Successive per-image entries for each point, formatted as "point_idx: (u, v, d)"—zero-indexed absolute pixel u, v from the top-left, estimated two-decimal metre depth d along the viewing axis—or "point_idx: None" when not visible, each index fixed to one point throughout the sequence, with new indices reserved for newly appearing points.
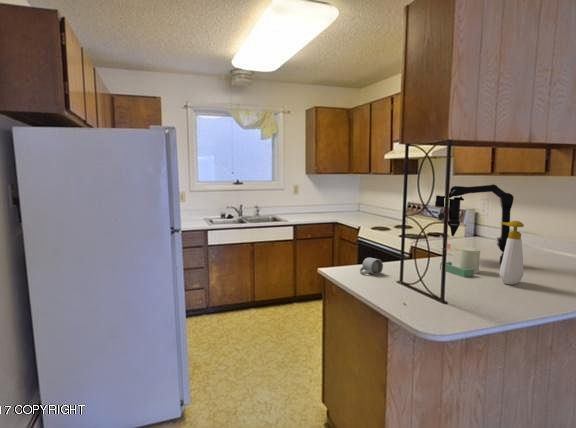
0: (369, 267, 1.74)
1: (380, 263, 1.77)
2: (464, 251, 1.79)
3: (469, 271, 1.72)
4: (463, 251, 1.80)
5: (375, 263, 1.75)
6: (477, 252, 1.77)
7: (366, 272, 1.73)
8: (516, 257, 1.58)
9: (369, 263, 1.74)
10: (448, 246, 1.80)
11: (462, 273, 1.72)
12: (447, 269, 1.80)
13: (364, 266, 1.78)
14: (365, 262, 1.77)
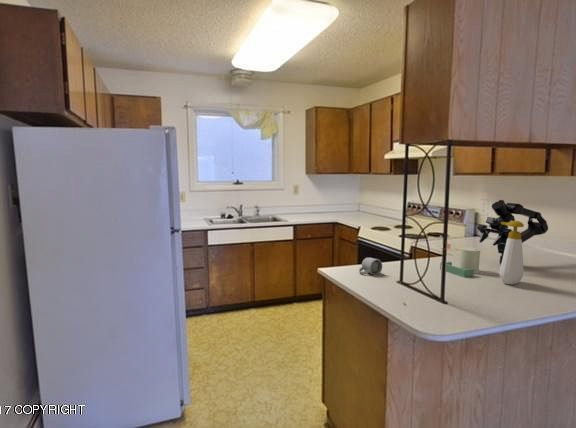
0: (368, 267, 1.73)
1: (379, 263, 1.77)
2: (464, 251, 1.79)
3: (469, 271, 1.72)
4: (463, 251, 1.80)
5: (374, 263, 1.75)
6: (477, 252, 1.77)
7: (365, 272, 1.73)
8: (516, 257, 1.58)
9: (368, 263, 1.74)
10: (448, 246, 1.80)
11: (462, 273, 1.72)
12: (447, 269, 1.80)
13: (363, 266, 1.77)
14: (364, 262, 1.77)
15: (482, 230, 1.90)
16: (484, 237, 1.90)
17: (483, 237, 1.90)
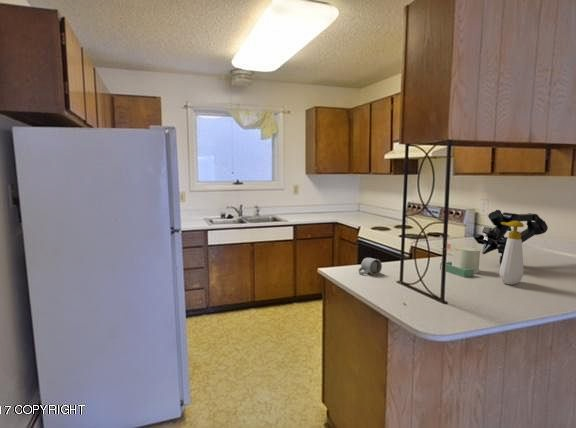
0: (368, 267, 1.73)
1: (379, 263, 1.76)
2: (464, 251, 1.79)
3: (469, 271, 1.72)
4: (463, 251, 1.80)
5: (374, 263, 1.75)
6: (477, 252, 1.77)
7: (365, 272, 1.73)
8: (516, 257, 1.58)
9: (368, 263, 1.74)
10: (448, 246, 1.80)
11: (462, 273, 1.72)
12: (447, 269, 1.80)
13: (363, 266, 1.77)
14: (364, 262, 1.77)
15: (485, 241, 1.87)
16: None
17: None
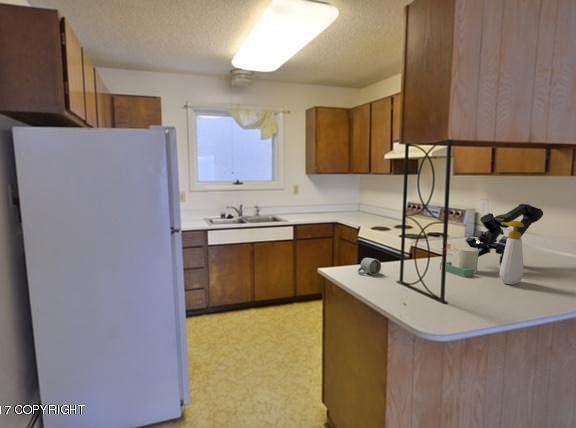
0: (367, 267, 1.73)
1: (378, 263, 1.76)
2: (463, 251, 1.79)
3: (469, 271, 1.72)
4: (462, 251, 1.80)
5: (373, 263, 1.75)
6: (476, 252, 1.77)
7: (364, 272, 1.73)
8: (516, 257, 1.58)
9: (367, 263, 1.74)
10: (448, 246, 1.80)
11: (462, 273, 1.72)
12: (447, 269, 1.80)
13: (362, 266, 1.77)
14: (363, 262, 1.77)
15: (477, 245, 1.85)
16: None
17: None
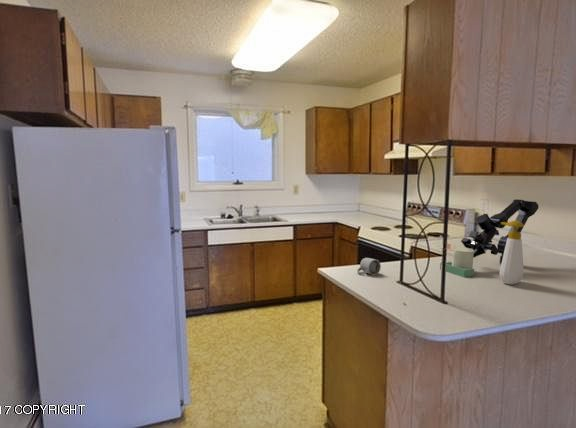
0: (367, 267, 1.73)
1: (378, 263, 1.76)
2: (458, 252, 1.78)
3: (469, 271, 1.72)
4: (457, 252, 1.78)
5: (373, 263, 1.75)
6: (471, 253, 1.76)
7: (364, 272, 1.73)
8: (516, 257, 1.58)
9: (367, 263, 1.74)
10: (448, 246, 1.80)
11: (462, 273, 1.72)
12: (447, 269, 1.80)
13: (362, 266, 1.77)
14: (363, 262, 1.77)
15: (472, 245, 1.83)
16: None
17: None
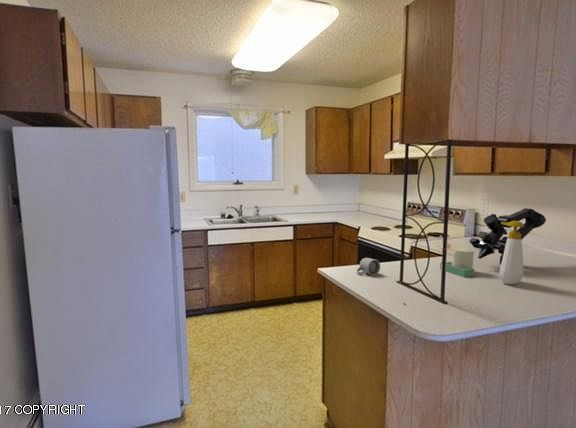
0: (366, 267, 1.73)
1: (377, 263, 1.76)
2: (458, 252, 1.78)
3: (469, 271, 1.72)
4: (457, 252, 1.78)
5: (372, 263, 1.74)
6: (471, 253, 1.76)
7: (363, 272, 1.73)
8: (516, 257, 1.58)
9: (366, 263, 1.74)
10: (448, 246, 1.80)
11: (462, 273, 1.72)
12: (447, 269, 1.80)
13: (361, 266, 1.77)
14: (362, 262, 1.77)
15: (481, 245, 1.86)
16: None
17: None
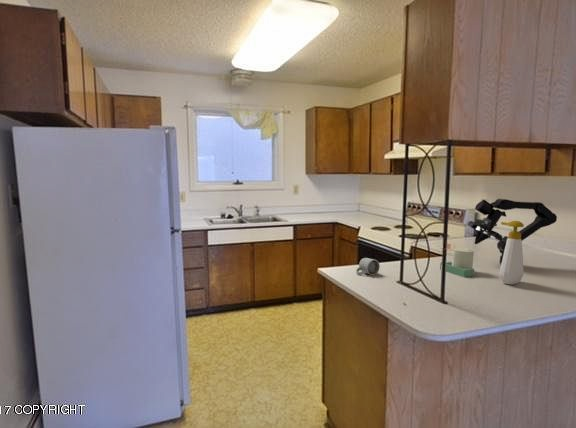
0: (365, 267, 1.73)
1: (377, 263, 1.76)
2: (458, 252, 1.78)
3: (469, 271, 1.72)
4: (457, 252, 1.78)
5: (372, 263, 1.74)
6: (471, 253, 1.76)
7: (362, 272, 1.73)
8: (516, 257, 1.58)
9: (366, 263, 1.73)
10: (448, 246, 1.80)
11: (462, 273, 1.72)
12: (447, 269, 1.80)
13: (361, 266, 1.77)
14: (362, 262, 1.76)
15: (477, 231, 1.92)
16: None
17: None
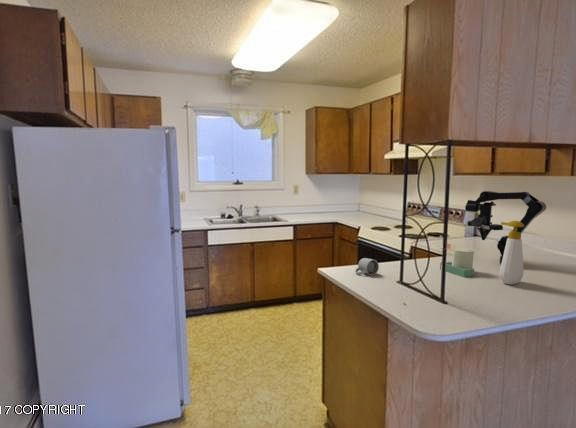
0: (365, 268, 1.73)
1: (376, 263, 1.76)
2: (458, 252, 1.78)
3: (469, 271, 1.72)
4: (457, 252, 1.78)
5: (371, 263, 1.74)
6: (471, 253, 1.76)
7: (362, 273, 1.72)
8: (516, 257, 1.58)
9: (365, 263, 1.73)
10: (448, 246, 1.80)
11: (462, 273, 1.72)
12: (447, 269, 1.80)
13: (360, 267, 1.77)
14: (361, 262, 1.76)
15: (479, 229, 2.02)
16: None
17: None
